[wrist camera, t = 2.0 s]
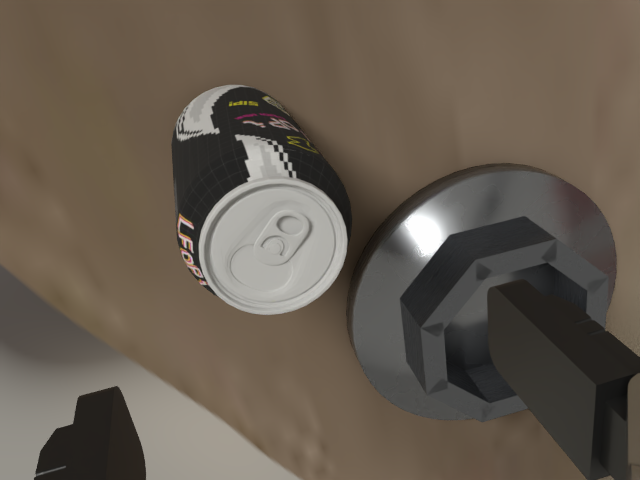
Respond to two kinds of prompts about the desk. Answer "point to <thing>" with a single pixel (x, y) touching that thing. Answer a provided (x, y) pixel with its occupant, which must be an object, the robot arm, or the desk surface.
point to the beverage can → (256, 203)
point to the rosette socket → (470, 283)
